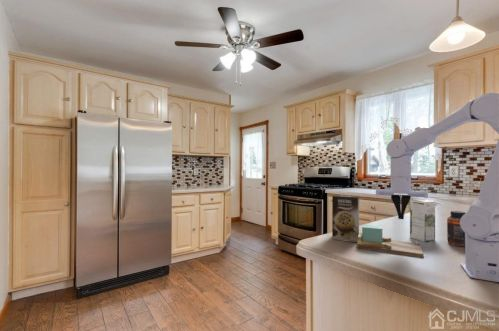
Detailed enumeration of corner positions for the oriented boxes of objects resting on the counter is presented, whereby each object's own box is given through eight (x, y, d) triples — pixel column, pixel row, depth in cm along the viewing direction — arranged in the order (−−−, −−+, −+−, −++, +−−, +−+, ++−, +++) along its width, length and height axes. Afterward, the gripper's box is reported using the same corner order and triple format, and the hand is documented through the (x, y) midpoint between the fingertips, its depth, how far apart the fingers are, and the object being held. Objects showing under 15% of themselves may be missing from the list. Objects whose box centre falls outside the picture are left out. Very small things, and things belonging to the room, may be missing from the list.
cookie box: (331, 239, 93) (331, 195, 93) (334, 235, 99) (334, 194, 99) (358, 242, 89) (358, 197, 89) (359, 238, 95) (359, 195, 95)
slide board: (423, 257, 74) (423, 245, 74) (357, 248, 83) (357, 237, 83) (419, 246, 85) (419, 236, 85) (360, 239, 93) (360, 229, 93)
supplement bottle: (474, 247, 83) (473, 213, 83) (453, 246, 84) (453, 212, 84) (462, 242, 89) (462, 210, 89) (443, 241, 90) (443, 209, 90)
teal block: (382, 245, 82) (382, 229, 82) (362, 243, 85) (362, 227, 85) (381, 242, 86) (381, 226, 86) (362, 240, 89) (362, 224, 89)
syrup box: (420, 236, 97) (419, 198, 97) (436, 240, 91) (435, 200, 92) (409, 237, 95) (409, 199, 95) (425, 242, 89) (424, 201, 90)
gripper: (374, 176, 83) (374, 218, 83) (428, 177, 75) (428, 223, 75) (377, 176, 89) (377, 214, 89) (427, 177, 81) (427, 219, 81)
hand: (401, 218), depth 82 cm, fingers closed
